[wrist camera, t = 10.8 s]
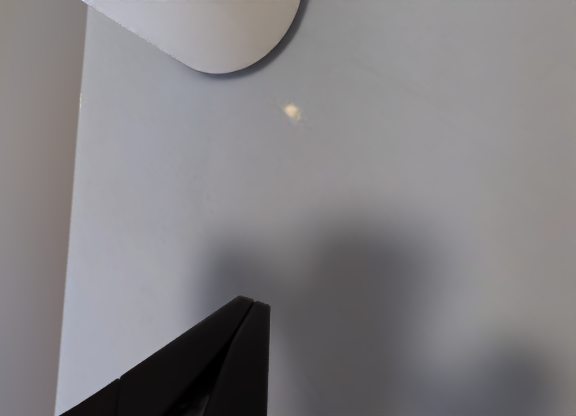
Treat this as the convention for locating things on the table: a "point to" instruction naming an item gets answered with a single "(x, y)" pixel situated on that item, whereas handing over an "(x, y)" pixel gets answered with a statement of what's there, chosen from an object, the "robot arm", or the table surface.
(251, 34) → the cup
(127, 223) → the table surface
